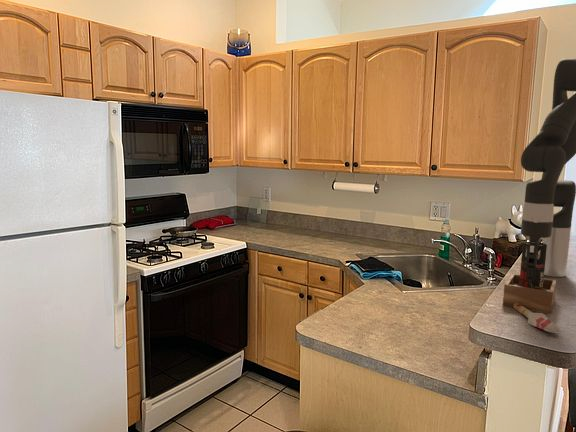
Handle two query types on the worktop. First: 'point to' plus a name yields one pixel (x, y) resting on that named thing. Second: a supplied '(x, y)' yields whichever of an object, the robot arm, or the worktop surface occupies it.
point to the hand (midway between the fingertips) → (531, 277)
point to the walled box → (530, 295)
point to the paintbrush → (537, 319)
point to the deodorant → (539, 269)
